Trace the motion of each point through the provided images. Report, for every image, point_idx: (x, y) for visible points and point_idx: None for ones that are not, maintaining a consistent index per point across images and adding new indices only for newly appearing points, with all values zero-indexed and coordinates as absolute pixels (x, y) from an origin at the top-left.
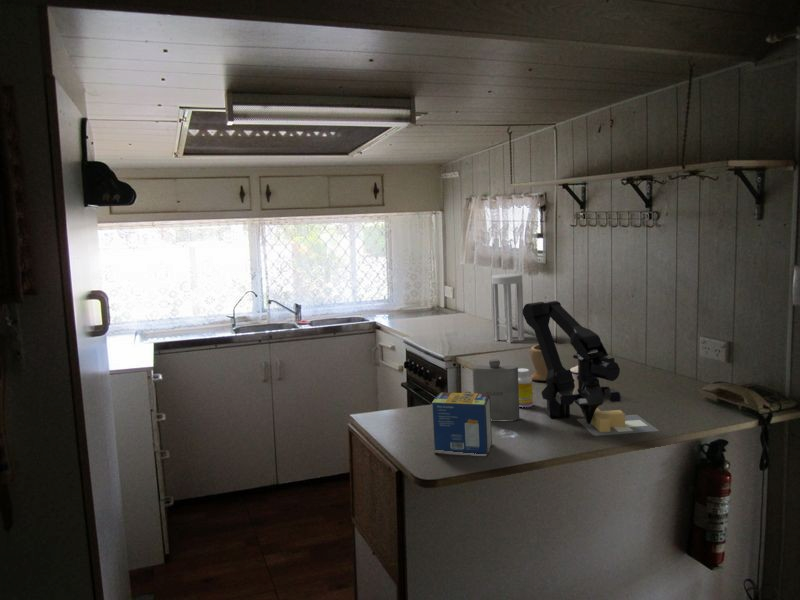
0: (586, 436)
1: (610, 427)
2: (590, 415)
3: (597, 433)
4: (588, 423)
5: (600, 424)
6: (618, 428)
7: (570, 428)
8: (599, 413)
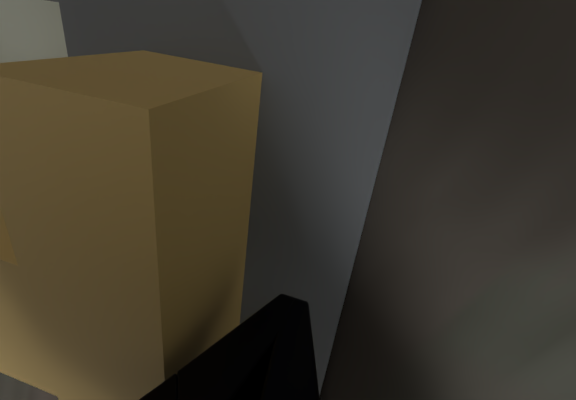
0: (537, 13)
1: None
2: (239, 375)
3: (322, 40)
4: (302, 300)
5: (206, 91)
6: None
7: (499, 351)
8: (90, 359)
